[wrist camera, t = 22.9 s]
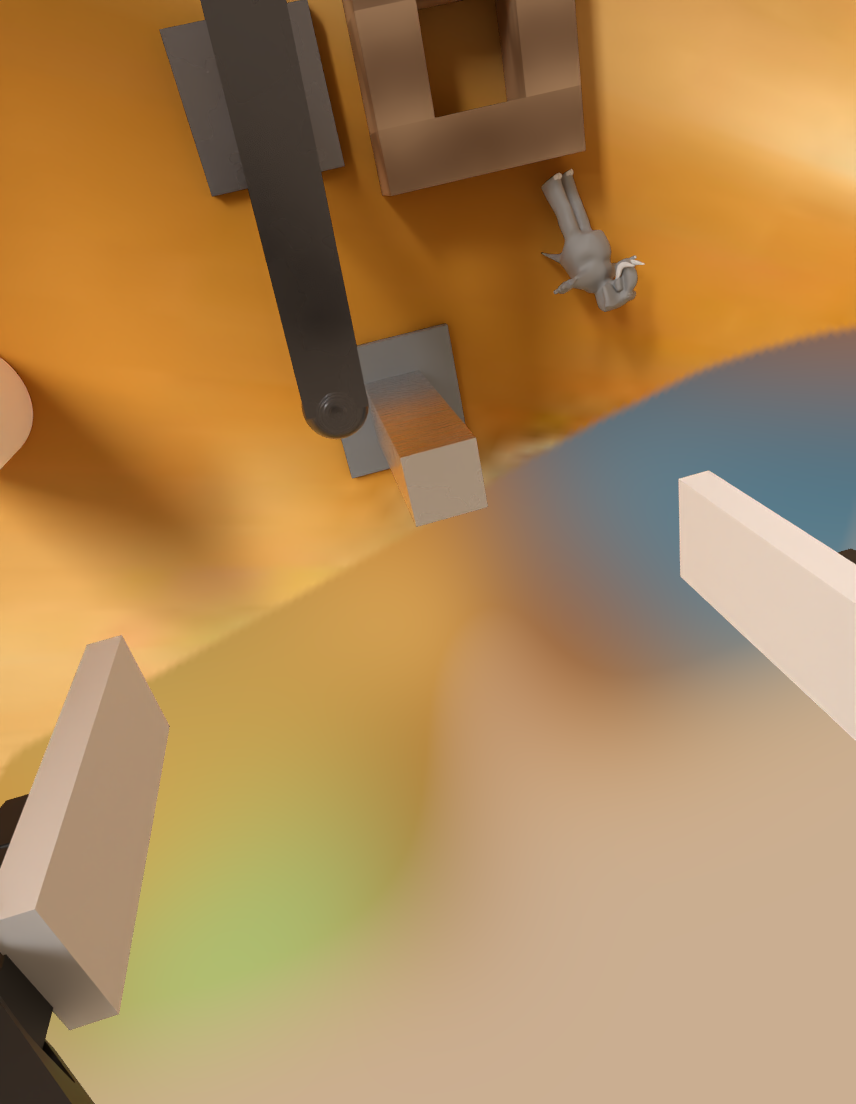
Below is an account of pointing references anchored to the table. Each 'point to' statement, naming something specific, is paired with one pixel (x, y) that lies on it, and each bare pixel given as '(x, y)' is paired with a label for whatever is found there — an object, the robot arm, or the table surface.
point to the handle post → (210, 110)
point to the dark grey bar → (290, 206)
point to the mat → (394, 358)
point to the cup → (13, 412)
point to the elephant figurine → (587, 249)
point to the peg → (426, 448)
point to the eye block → (479, 134)
